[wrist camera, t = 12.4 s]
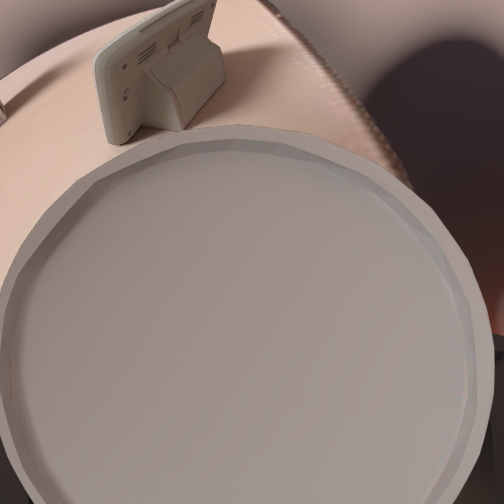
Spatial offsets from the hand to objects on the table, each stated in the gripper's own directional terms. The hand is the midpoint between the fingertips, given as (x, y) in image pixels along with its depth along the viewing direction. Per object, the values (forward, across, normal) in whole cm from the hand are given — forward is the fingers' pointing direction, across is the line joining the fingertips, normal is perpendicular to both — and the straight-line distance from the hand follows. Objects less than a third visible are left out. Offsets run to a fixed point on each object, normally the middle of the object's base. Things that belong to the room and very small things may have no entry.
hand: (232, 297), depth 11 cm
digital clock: (+21, -4, +12) cm, 24 cm away
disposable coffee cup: (+1, 0, -6) cm, 6 cm away
